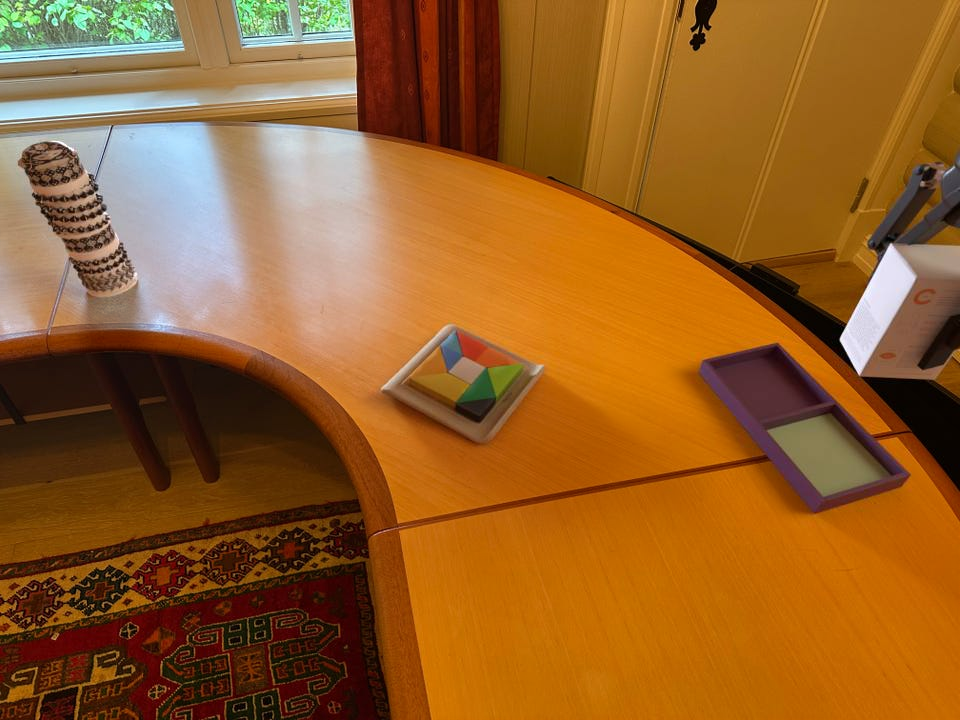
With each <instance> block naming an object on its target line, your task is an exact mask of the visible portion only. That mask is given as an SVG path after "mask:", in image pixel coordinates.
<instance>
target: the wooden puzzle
mask: <svg viewBox="0 0 960 720" xmlns="http://www.w3.org/2000/svg"><path fill="white" fill-rule="evenodd" d="M546 368H547V366H546V365H545V364H540V363H539V364H538V363H536V362H533V361H531V360H529V359H527V358H525V357H522V356H520V355H519V354H516V353H514V352H511V351H510V350H507V349H506V348H503V347H502V346H499V345H498V344H495V343H494V342H491V341H489V340H487V339H484V337H481V336H479V335H477V334H475V333H472V332H470V331H469V330H466V329H464V328H463V327H460V326H459V325H456V324H453V323H452V324H450V323H449V324H447V325H445V326H444V327H442V328H441V329H440V330H439V331H438V332H437V333H436V334H435V336H434V337H433V338H432V339H430V341H428V342H427V343H426V344H425V345H424V346H423V347H422V348H421V349H420V350H419V351H418V352H417V353H416V354H415V355H414V356H413V357H412V358H411V359H410V360H409V361H408V362H407V363H406V364H405V365H403V367H402V368H400V369H399V370H398V371H397V372H396V373H395V374H394V376H392V377H391V378H390V379H389V380H388V381H387V382H386V383H385V384H384V385H383V386H382V387H381V388H380V392H381V393H382V394H386V395H389V396H390V397H393V398H395V399H396V400H398V401H400V402H402V403H403V404H405V405H407V406H409V407H410V408H413V409H414V410H417V411H418V412H420V413H422V414H424V415H425V416H427V417H429V418H431V419H433V420H434V421H436V422H438V423H440V424H442V425H443V426H445V427H447V428H449V429H451V430H453V431H454V432H456V433H458V434H459V435H461V436H464V437H465V438H467V439H469V440H470V441H472V442H474V443H476V444H479V445H485V444H488V443H489V442H490V441H491V440H493V439H494V437H495V436H496V434H497V433H498V432H499V431H500V430H501V428H502V427H503V425H504V424H505V423H506V422H507V421H508V419H509V418H510V416H511V415H512V414H513V413H514V412H515V410H516V409H517V407H518V406H519V405H520V404H521V403H522V401H523V400H524V399H525V397H526V396H527V395H528V393H529V392H530V391H531V389H532V388H533V387H534V386H535V385H536V383H537V382H538V380H539V379H540V378H541V376H543V374H544V373H545V372H546Z"/></svg>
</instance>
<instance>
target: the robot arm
mask: <svg viewBox="0 0 960 720" xmlns="http://www.w3.org/2000/svg"><path fill="white" fill-rule="evenodd" d="M953 160H954V161H953V162H954V163H953V165H951V166H950V167H945V164H944V163H943V162H942V161H934V162H933V161H932V162H928V163H922V164H921V163H920V164H917V165H915V166H914V167H913V169H912V171H911V174H910V178H909V180H908V183H907V186H906V188H905V189H904V191H903V192H902V194H901V195H900V196H899V197H898V198H897V200H896V201H895V203H894V204H893V206H892V207H891V209H890V210H889V211H888V213H887V214H886V215H885V216H884V218H883V220H882V221H881V222H880V224H879V225H878V227H877V228H876V229H875V231H874V232H873V234H872V235H871V236H870V238H869V239H868V241H867V243H866V245H867V246H866V247H867V249H869V250H870V251H874V252H875V254H876V255H877V257H876V261H877V262H876V264H875V266H874V268H873V269H872V272H871V274H870V276H869V277H868V279H867V282H866V283H867V284H866V285H867V286H868V285H869V283H870V281H871V279H872V277H873V275H874V273H875V272H876V270H877V268H878V266H879V264H880V262H881V260H882V258H883V257H884V255H885V253H886V251H887V249H888V247H889V245H890V244H891V243H896V244H907V245H913V244H923V245H926V243H927V242H929V241H930V240H932V239H933V238H934V237H936V236H937V235H938V234H940V233H941V232H942V231H943V230H945V229H946V228H948V227H949V226H950V227H953V228H957V229H960V147H959V148H958V150H957V152H956V154H955V156H954V158H953ZM938 188H940V193H941V201H940V202H939V203H938V204H936V205H935V206H934V207H932V208H931V209H930V210H929V211H928V212H927V213H925V214H924V215H923V218H922V219H921V220H920V221H918V222H917V223H916V224H915V225H913V226H912V227H911V228H909V229H908V227H909V226H910V224H911V223H912V222H913V221H914V219H915V218H916V217H917V216H918V214H919V213H920V212H921V210H923V208H924V207H925V205H926V204H927V203H928V201H929V200H931V198H932V196H933V195H934V193H935V192H936V190H937V189H938ZM907 229H908V230H907ZM906 230H907V231H906ZM905 231H906V232H905ZM904 232H905V233H904ZM954 350H956V351H957V350H960V314H957V315H953V316H950V318H949V319H948V321H947V322H946V323H945V325H944V326H943V328H942V329H941V331H940V332H939V334H938V335H937V337H936V338H935V340H934V341H933V342H932V344H931V345H930V347H929V348H928V350H927V351H926V353H925V354H924V356H923V357H922V359H921V360H920V362H919V363H918V364H917V366H918V367H919V368H920V369H922V370H926V369H930V368H934V367H938V366H941V365H944V364H945V362H946V361H947V360H948V358H949V357H950V355H951V354H952V353H953V351H954Z"/></svg>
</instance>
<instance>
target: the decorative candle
mask: <svg viewBox="0 0 960 720" xmlns="http://www.w3.org/2000/svg"><path fill="white" fill-rule="evenodd" d="M78 153H79V152H78V150H77V149H76V148H75V147H73V146H68V145H66V144H65V143H64V142H62V141H58V140H57V141H56V140H46V141H40V142H36V143H33V144H31V145H29V146H27V147H26V148H24V150H22V153H21V157H20V158H19V160H17V166H18V167H20V168H21V169H23V170H24V174H25V175H26V176H27V178H28V180H29V185H30V187H31V189H32V190H33V192H32V193H31V197H32V198H33V199H34V200H35V206H37V207H39V208H40V214H41V215H43V216H44V218H46V219H47V225H48V226H50V227H51V228H52V233H54V235H55V236H57V237H58V238H60V239H61V241H62V243H63V244H64V245H65V247H64V248H65V251H66V252H67V254H68V260H69V262H71V264H72V265H73V266H72V268H73V269H74V270H75V271H76V272H77V278H78V279H79V280H80V281H81V285H82V286H83V287H84V288H85V290H86V292H87V293H88V294H89V295H90V296H92V297H96V298H111V297H113V296H119V295H121V294H124V293H125V292H127V291H130V289H132V288H133V287H134V286H135V285H136V284H137V282H138V280H139V277H138V273H137V272H136V270H135V266H134V265H133V263H132V259H131V258H129V256H128V251H127V250H126V249H125V247H124V242H122V241H121V240H120V239H119V237H118V235H117V233H116V232H115V231H114V229H113V227H112V225H111V222H112V220H111V216H110V214H108V213H106V212H107V210H108V206H107V204H106V203H103V202H104V196H103V195H101V194H99V193H97V192H98V191H99V184H98V183H95V180H96V179H95V175H94V174H92V173H90V172H88V171H87V169H86V168H85V167H84V166H83V164H82V161H81V159H80V158H79V154H78Z"/></svg>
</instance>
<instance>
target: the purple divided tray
mask: <svg viewBox="0 0 960 720" xmlns="http://www.w3.org/2000/svg"><path fill="white" fill-rule="evenodd" d="M698 374H699V375H700V376H701V378H702V379H703V381H705V382H706V384H707V385H708V386H709V387H710V389H711V390H712V391H713V392H714V393H715V395H716V396H717V397H718V398H719V400H720V401H721V402H722V403H723V405H724V406H725V407H726V408H727V409H728V411H729V412H730V413H731V414H732V416H734V418H735V419H736V420H737V422H738V423H739V424H740V425H741V426H742V428H743V429H744V430H745V431H746V432H747V434H748V435H749V436H750V437H751V438H752V440H753V441H754V442H755V443H756V445H757V446H758V447H759V448H760V450H762V452H763V453H764V454H765V456H766V457H767V458H768V459H769V461H771V463H772V464H773V465H774V467H775V468H776V469H777V470H778V471H779V473H780V474H781V475H782V476H783V478H785V480H786V481H787V482H788V484H789V485H790V486H791V487H792V489H793V490H794V491H795V492H796V493H797V495H798V496H799V497H800V498H801V499H802V501H803V502H804V503H805V504H806V506H807V507H808V508H809V509H810V510H811V512H812V513H813V514H819V513H821V512H825V511H828V510H832V509H835V508H838V507H841V506H844V505H849V504H850V503H851V504H852V503H855V502H858V501H861V500H864V499H867V498H870V497H873V496H877V495H880V494H883V493H886V492H889V491H892V490H896V489H900V488H901V487H903V486H904V484H905V483H906V482H907V481H908V480H909V478H910V477H911V476H912V474H911V473H910V472H909V471H908V470H907V469H906V468H905V467H904V466H903V464H901V463H900V462H899V461H898V460H897V459H896V458H895V457H894V456H893V455H892V454H891V453H890V452H889V451H888V450H887V449H886V448H885V447H884V446H883V444H881V443H880V442H879V441H878V440H877V439H876V438H875V437H874V436H873V435H872V434H871V433H870V432H869V431H868V430H867V429H866V428H865V427H864V426H863V425H862V424H861V423H860V422H859V421H858V420H857V419H856V418H855V417H854V416H852V414H851V413H850V412H849V411H848V410H847V409H846V408H845V407H844V406H843V405H842V404H841V403H839V402H838V401H837V400H836V398H834V396H833V395H831V393H829V392H828V390H826V388H824V386H822V385H821V383H820V382H818V381H817V379H815V378H814V377H813V376H812V374H810V372H808V370H806V369H805V368H804V366H803V365H801V364H800V363H799V362H798V361H797V359H795V358H794V357H793V356H792V355H791V354H790V353H789V352H788V351H787V350H786V349H785V348H784V347H783V346H782V345H781V343H779V342H774V343H769V344H765V345H761V346H756V347H752V348H748V349H744V350H739V351H734V352H730V353H726V354H723V355H718V356H712V357H709V358H705V359H702V361H701V363H700V366H699V370H698Z"/></svg>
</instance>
